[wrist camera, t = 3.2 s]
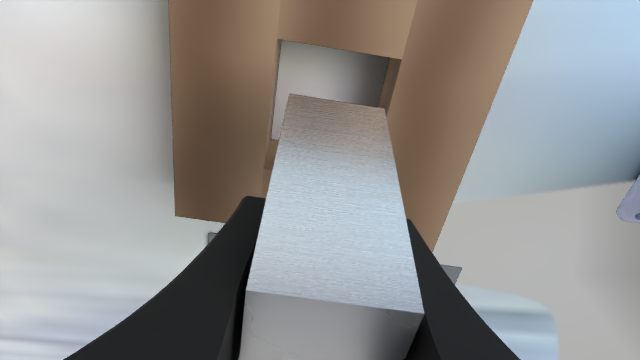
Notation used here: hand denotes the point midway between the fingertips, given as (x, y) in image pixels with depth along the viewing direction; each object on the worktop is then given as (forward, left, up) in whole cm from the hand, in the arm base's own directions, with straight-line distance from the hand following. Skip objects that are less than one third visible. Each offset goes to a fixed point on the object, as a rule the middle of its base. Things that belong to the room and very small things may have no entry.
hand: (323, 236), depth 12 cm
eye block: (0, 0, -9) cm, 9 cm away
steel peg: (0, 0, -4) cm, 4 cm away
